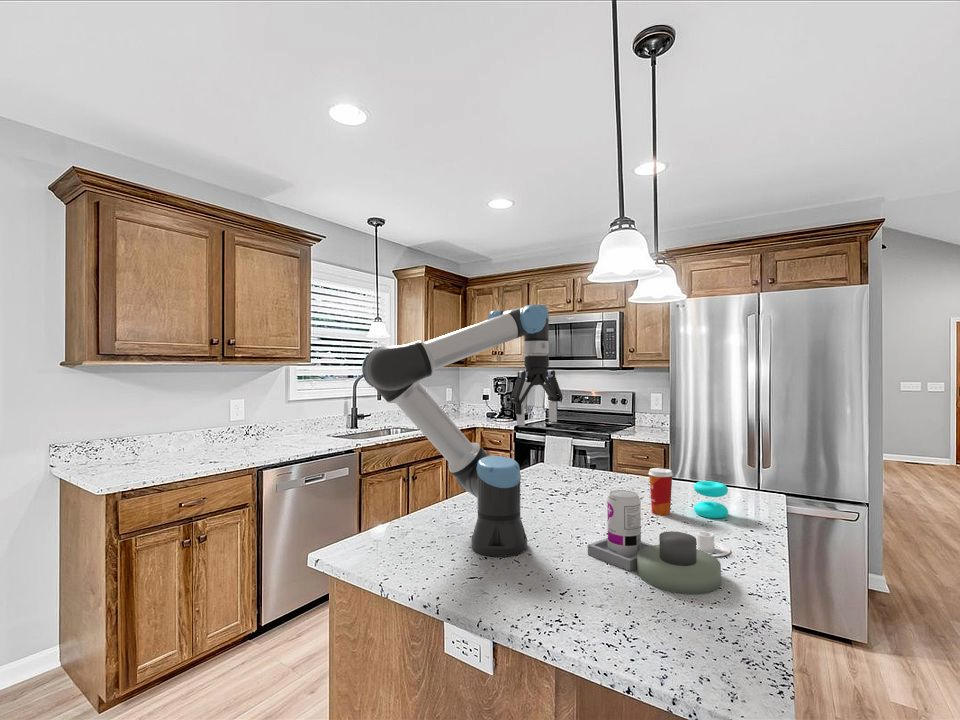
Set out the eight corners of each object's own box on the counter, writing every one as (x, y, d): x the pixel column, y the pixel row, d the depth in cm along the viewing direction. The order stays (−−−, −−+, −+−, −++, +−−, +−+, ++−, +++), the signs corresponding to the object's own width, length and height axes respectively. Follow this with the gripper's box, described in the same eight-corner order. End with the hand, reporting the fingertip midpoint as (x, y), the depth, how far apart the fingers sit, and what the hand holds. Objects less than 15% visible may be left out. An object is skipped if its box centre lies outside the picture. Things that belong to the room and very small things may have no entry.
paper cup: (653, 508, 169) (653, 466, 169) (676, 512, 164) (676, 469, 164) (644, 513, 163) (644, 470, 163) (668, 518, 158) (668, 474, 158)
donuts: (732, 483, 161) (720, 489, 154) (733, 514, 161) (721, 521, 154) (701, 478, 168) (688, 483, 161) (701, 508, 168) (688, 514, 161)
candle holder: (692, 559, 127) (692, 542, 127) (673, 542, 139) (673, 526, 139) (739, 558, 127) (739, 541, 127) (716, 541, 139) (716, 526, 139)
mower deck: (693, 602, 103) (693, 559, 103) (581, 556, 128) (580, 521, 128) (736, 579, 114) (735, 539, 114) (625, 540, 139) (624, 508, 139)
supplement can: (607, 556, 125) (606, 496, 125) (608, 544, 133) (608, 488, 133) (641, 560, 123) (640, 499, 123) (640, 547, 131) (640, 490, 131)
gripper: (514, 355, 144) (514, 428, 144) (573, 354, 159) (573, 421, 159) (497, 355, 150) (498, 425, 150) (556, 355, 165) (556, 419, 165)
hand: (537, 423), depth 155 cm, fingers open, 13 cm apart
